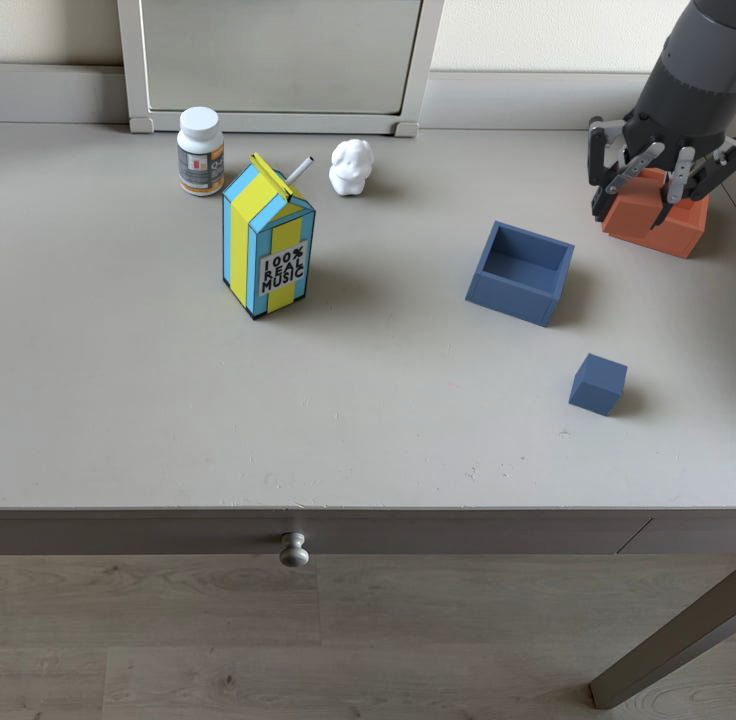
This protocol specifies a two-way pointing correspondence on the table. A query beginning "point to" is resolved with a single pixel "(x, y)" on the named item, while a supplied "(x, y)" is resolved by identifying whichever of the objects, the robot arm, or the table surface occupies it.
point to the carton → (266, 238)
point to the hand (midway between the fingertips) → (622, 219)
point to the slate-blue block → (598, 384)
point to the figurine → (351, 166)
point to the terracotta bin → (674, 223)
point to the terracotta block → (634, 208)
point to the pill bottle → (200, 151)
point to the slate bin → (520, 273)
